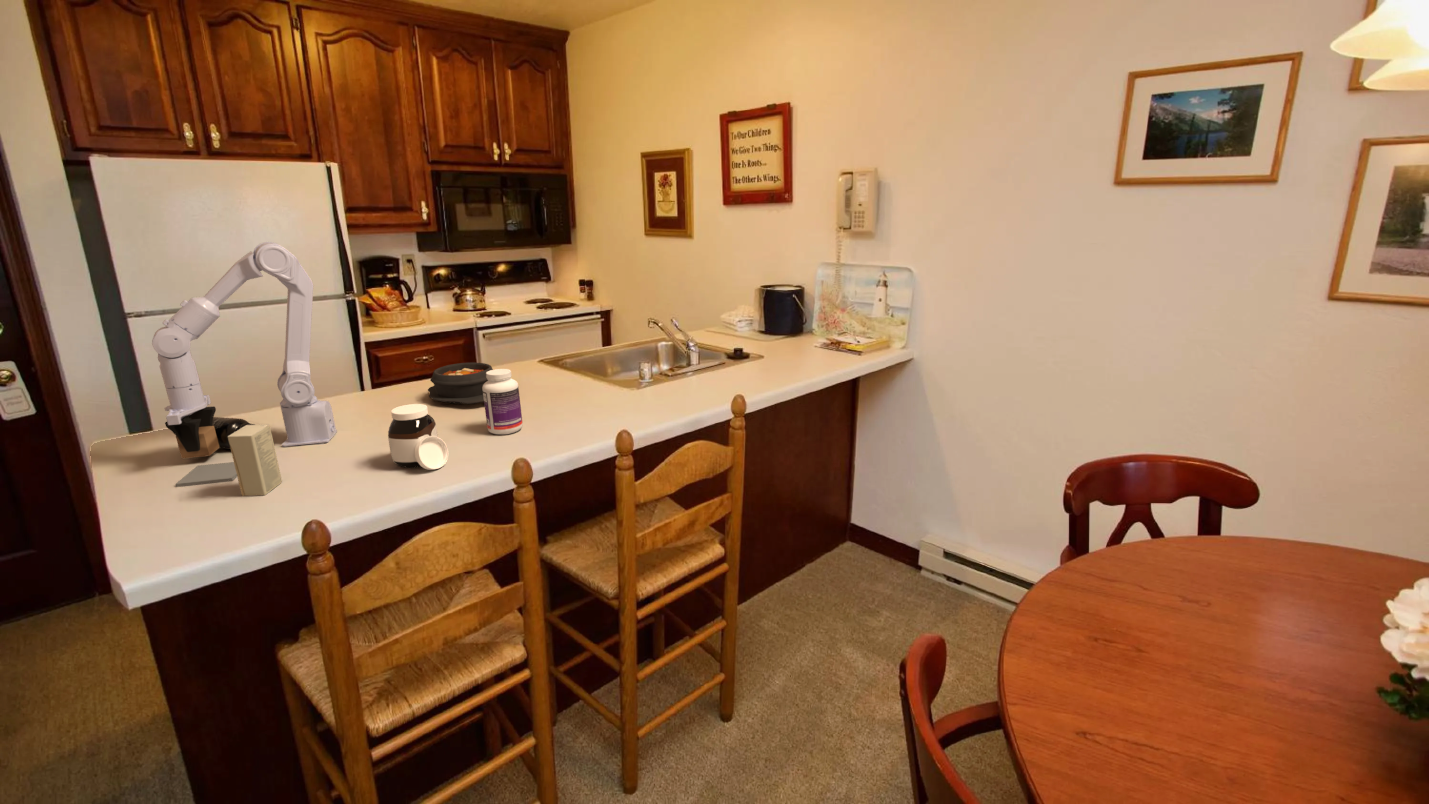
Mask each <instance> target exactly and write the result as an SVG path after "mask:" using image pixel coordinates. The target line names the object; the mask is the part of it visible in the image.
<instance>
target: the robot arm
mask: <svg viewBox="0 0 1429 804" xmlns="http://www.w3.org/2000/svg"><path fill="white" fill-rule="evenodd" d="M262 272H264V273H267V274H268V275H270V276H272V277H274V278H275V279H277V280H278V281H279V282H280V283H281V284H282V285H283V286H285V288H287V297H286V298H287V300H286V301H287V302H286V303H287V304H286V323H285V342H284V361H283V366H282V373H281V374H280V375H279V377H278V379H277V387H278V390H279V392H280V395H281V398H282V400H281V401H280V402H279V406H280V410H281V414H282V420H283V424H284V429H285V432H286V433H285V434H286V436H287V437H286V439H285V441H284V442H282V443H281V446H282V447H291V446H292V447H293V446H302V445H313V444H323V443H324V444H325V443H329V442H330V441H331V439H332V438H333V437H334V436H335V434H336V433H337V432H338V429H336V428H337V427H336V423H335V419H334V412H333V408H332V406H331V402H330V401H329V400H319V399H318V397H317V396H316V395H315V391H316V390H315V387H314V384H313V383H312V381H311V380H312V379H311V375H312V374H311V367H310V366H311V365H310V357H311V356H310V353H311V340H312V339H311V338H312V337H311V334H312V319H313V318H312V315H313V298H314V297H313V296H314V284H313V280H312V279H311V277H310V275H308V273H307V272H306V270H305V268H304V266H302V264H301V263H300V261H299V259H298V257H297V256H296V255H294V254H293V253H292V252H290V250H288V249H287V248H285V247H284V246H282V245H280V244H279V243H277V242H272V241H264V242H261V243H259V244H258V245H256V246H255V248H254V249H253V251H249V252H247V253H246V254H245V255H244V256H242V257H241V258H239V259H238V260H237V261H236V262H235V263H234V264H233V265H232V266H231V267H230V268H229V269H228V270H227V271H226V272H225V273H224V274H223V275H222V276H221V277H220V278H219V280H218V281H217V282H216V283H215V284H214V285H213V286H212V287H211V288H210V289H209V290H208V292H207V293H206V294H205V295H203V296H198V297H197V296H196V297H195V296H193V297H191V298H189V299H188V300H186V299H183V300H182V302H181V303H180V305H179V306H181V307H180V308H179V310H178V311H177V312H175V313H174V314H173V316H171V317H170V318H169V319H167V318H166V319H164V320H163V321H162V325H163V326H162V327H160V328H158V329H157V330H156V331H155V332H154V334H153V337H152V340H151V344H152V347H153V349H154V351H155V352H156V354H157V359H158V362H159V369H160V373H161V377H162V380H163V385H164V388H165V391H166V395H167V398H168V401H169V405H167V406H165V407H164V411H165V412H168V414H167V415H166V416H165V418H166V421H165V422H164V424H165V428H167V429H168V430H170V432H172V433H173V434H174V435H175V437H176V436H177V437H178V439H179V440H180V442H181V443H182V445H183V446H184V448H185V450H186V451H187V452H194V451H199V450H200V441H199V427H206V426H212V421H213V417H215V413H216V410H217V408H216V406H209V405H211V404H212V402H211V398H210V395H209V394H207V395H204V391H203V387H202V384H201V383H202V382H201V381H200V377H199V373H198V369H197V365H196V362H195V359H193V356H192V352H191V341H193V340H198V339H199V338H200V337H201V336H203V334H204V333H205V332H206V330H208V329H209V327H211V326H212V325H213V324H214V323H215V322H216V321H217V319H219V318H220V317H221V314H220V309H219V307H220V306H222V304H224V303H225V301H227V300H228V299H229V298H230V297H231V296H232V295H233V294H234V293H235V292H237V290H239V288H241V287H242V286H243V285H244V284H245V283H246V282H248V281H249V280H253V279H257V278H263V277H264V274H262Z"/></svg>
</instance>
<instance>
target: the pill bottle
mask: <svg viewBox="0 0 1429 804" xmlns="http://www.w3.org/2000/svg"><path fill="white" fill-rule="evenodd" d="M486 378H487V380H488V381H487V382H485V383H484V385H483V387H482V389H483V397H484V402H483V403H484V404H483V405H484V410H485V411H484V412H485V419H486V427H487V431H488V432H489V433H490V434H494V435H499V436H500V435H509V434H514V433H516V432H518V431H520V430H521V429H522V428H523V416H522V414H523V413H522V407H521V398H520V388H519V383H518V381H517V380H515V379H513V378H512V369H509V368H495V369H493V370H490V371H488V372H486Z"/></svg>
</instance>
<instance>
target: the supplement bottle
mask: <svg viewBox="0 0 1429 804" xmlns="http://www.w3.org/2000/svg"><path fill="white" fill-rule="evenodd" d="M246 425H256V424H255V423H250V422H249V421H247V420H245V419H243V418H236V417H235V418H233V417H222V416H214V417H213V421H212V426H214V428H215V432H216V436H217V439H218V443H219V447H220V448H219V449H230V450H231V448H230V444H229V440H228V436H229V435H231V434H232V433H234V432H236V431H237V430H239V429H241V428H242V427H244V426H246Z"/></svg>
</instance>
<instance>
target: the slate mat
mask: <svg viewBox="0 0 1429 804" xmlns="http://www.w3.org/2000/svg"><path fill="white" fill-rule="evenodd" d="M236 478H238V477H237V473H236V469H235V465H234V461H231V462H220V463H211V464H209V463H208V464H199V465H196V466H195V467H194V468H193V469H192V470H191V471H189V472H188V473H187V474H185V475H184V476H183V477H182V478H180V479H179V480H178V481H177V482H176V483H174V484H175V487H176V488H179V487H186V486H189V487H190V486H196V485H206V484H215V483H216V484H217V483H226V482H227V483H228V482H233V481H234V480H235V479H236Z"/></svg>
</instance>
